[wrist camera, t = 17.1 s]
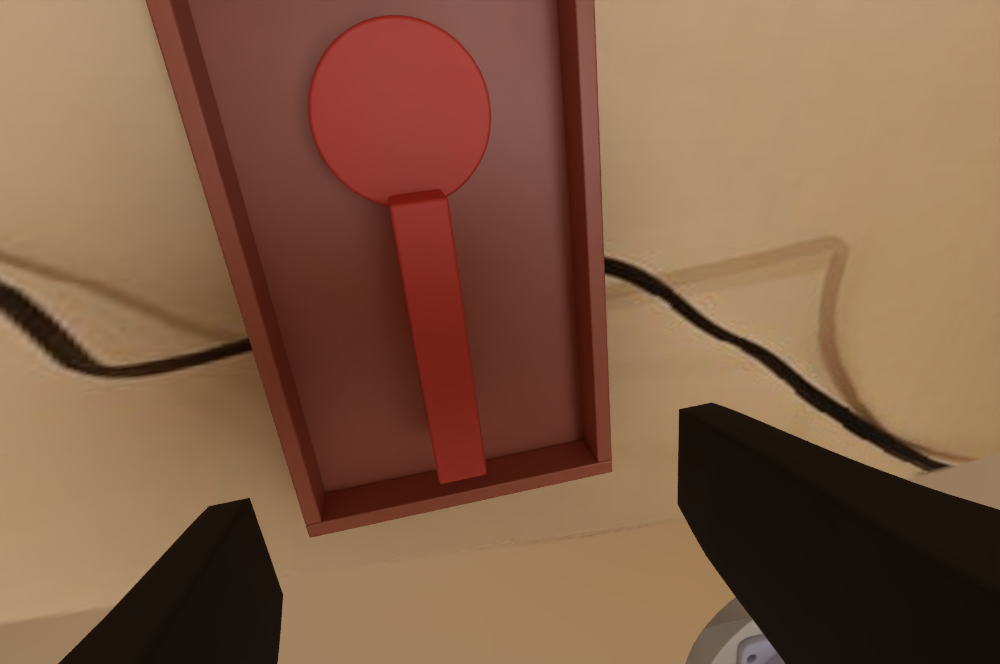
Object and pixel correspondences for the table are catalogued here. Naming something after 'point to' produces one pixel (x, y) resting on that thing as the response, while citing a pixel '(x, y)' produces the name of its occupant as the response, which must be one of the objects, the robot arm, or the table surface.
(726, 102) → the table surface
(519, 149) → the red tray
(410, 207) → the red spoon
